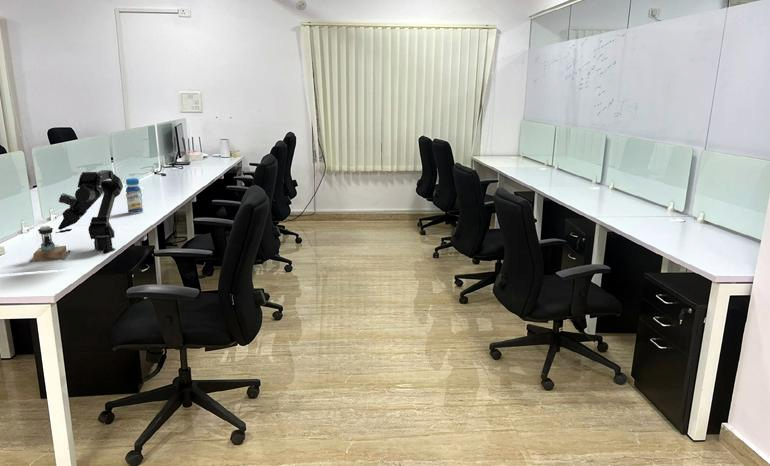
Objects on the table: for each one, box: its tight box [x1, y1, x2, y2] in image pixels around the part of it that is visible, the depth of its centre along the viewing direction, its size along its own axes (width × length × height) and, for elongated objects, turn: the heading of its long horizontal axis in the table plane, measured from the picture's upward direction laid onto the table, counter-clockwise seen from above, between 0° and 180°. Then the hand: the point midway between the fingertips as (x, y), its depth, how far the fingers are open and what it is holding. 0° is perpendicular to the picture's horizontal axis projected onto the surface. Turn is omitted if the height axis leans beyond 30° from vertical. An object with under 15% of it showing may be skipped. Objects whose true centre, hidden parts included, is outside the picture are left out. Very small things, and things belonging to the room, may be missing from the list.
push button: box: [37, 225, 58, 251], centre depth 231 cm, size 7×5×10 cm
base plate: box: [29, 249, 72, 263], centre depth 233 cm, size 13×13×2 cm
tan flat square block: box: [33, 245, 68, 261], centre depth 232 cm, size 10×10×3 cm
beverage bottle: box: [125, 177, 144, 215], centre depth 322 cm, size 8×8×20 cm
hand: (61, 226), depth 231 cm, fingers open, 9 cm apart
